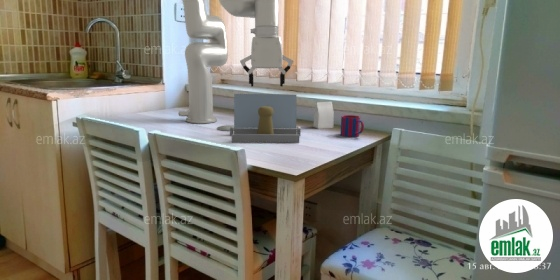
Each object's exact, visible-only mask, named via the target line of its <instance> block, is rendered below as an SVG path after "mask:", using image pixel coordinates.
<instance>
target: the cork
mask: <svg viewBox="0 0 560 280" xmlns="http://www.w3.org/2000/svg"><path fill="white" fill-rule="evenodd" d="M258 115H259V116H260V118H259V125H258V132H257V134H274V132H273V123H272V115H273V108H272V107H269V106H263V107H260V108H259V109H258Z"/></svg>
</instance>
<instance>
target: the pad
mask: <svg viewBox="0 0 560 280" xmlns="http://www.w3.org/2000/svg"><path fill="white" fill-rule="evenodd" d="M230 126H234V124H229V125H227V124H226V125H219V126H218V127H217V128H216V129H217V130H218V131H222V132H230Z"/></svg>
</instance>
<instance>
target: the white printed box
mask: <svg viewBox="0 0 560 280" xmlns="http://www.w3.org/2000/svg"><path fill="white" fill-rule="evenodd" d="M333 107H334V106H333V101H317V102H316V105H315V107H314V111H313V128H316V129H317V130H320V129H331V128H332V129H333V128H334V122H335V121H334V120H335V118H334V117H335V112H334V108H333Z"/></svg>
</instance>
